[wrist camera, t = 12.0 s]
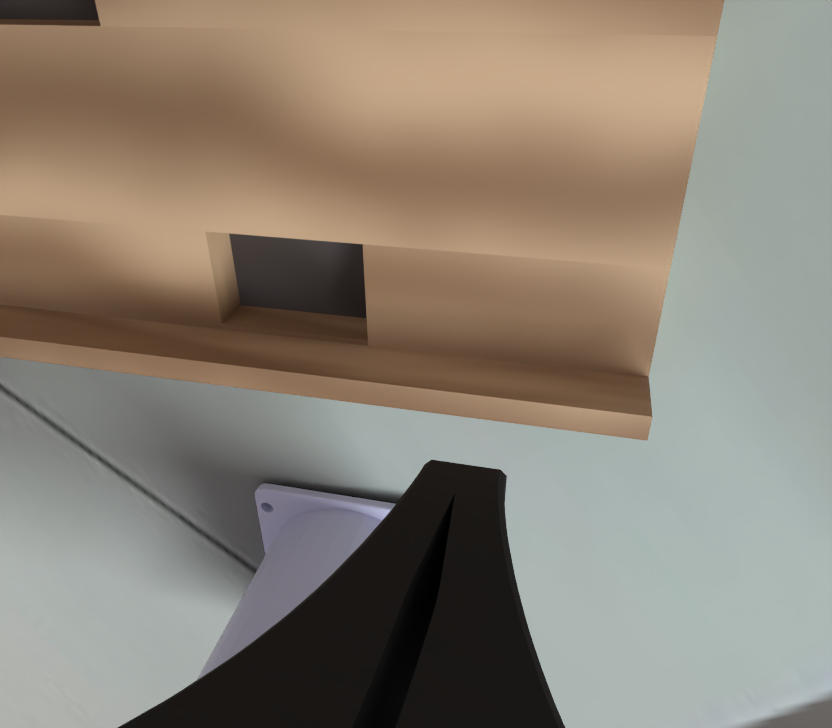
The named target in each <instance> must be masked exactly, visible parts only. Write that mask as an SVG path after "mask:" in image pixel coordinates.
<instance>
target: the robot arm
mask: <svg viewBox="0 0 832 728" xmlns="http://www.w3.org/2000/svg"><path fill="white" fill-rule="evenodd" d="M506 477H507V476H506V475H505V474H504V473H503V472H502V471H501V470H498V469H491V468H484V467H478V466H471V465H464V464H457V463H450V462H443V461H436V460H431V461H429V462H428V463H426V464H425V465H424V467H423V468H422V470H421V471H420V473H419V474H418V476H417V477H416V478H415V480H414V481H413V483H412V484H411V485H410V487H409V488H408V489H407V491H406V492H405V493H404V494H403V496H402V497H401V498H400V500H399V501H398V502H397V503H396V504H394V503H388V502H382V501H375V500H369V499H363V498H356V497H350V496H344V495H337V494H331V493H325V492H318V491H312V490H306V489H299V488H293V487H287V486H280V485H274V484H268V483H263V484H261V485H260V486H259V487H258V488H257V490H256V491H255V500H256V506H257V512H258V517H259V523H260V528H261V534H262V540H263V545H264V551H265V557H264V559H263V561H262V562H261V564H260V566H259V568H258V570H257V572H256V573H255V575H254V577H253V579H252V581H251V582H250V584H249V586H248V588H247V590H246V592H245V593H244V595H243V597H242V599H241V601H240V602H239V604H238V606H237V608H236V610H235V612H234V613H233V615H232V617H231V619H230V621H229V622H228V624H227V626H226V628H225V630H224V632H223V633H222V635H221V637H220V639H219V641H218V642H217V644H216V646H215V648H214V650H213V652H212V653H211V655H210V657H209V659H208V661H207V662H206V664H205V666H204V668H203V670H202V672H201V673H200V675H199V677H198V679H197V681H195V682H194V683H192V684H191V685H189V686H188V687H186V688H185V689H183V690H182V691H180V692H179V693H177V694H175V695H174V696H172V697H170V698H169V699H167V700H165V701H164V702H162V703H160V704H159V705H157V706H155V707H153V708H151V709H150V710H148V711H146V712H144V713H143V714H141V715H139V716H137V717H136V718H134V719H132V720H130V721H129V722H127V723H125V724H123V725H122V726H120V727H118V728H565V726H564V724H563V722H562V719H561V717H560V715H559V712H558V710H557V708H556V705H555V703H554V700H553V698H552V695H551V692H550V690H549V687H548V684H547V682H546V679H545V676H544V674H543V671H542V668H541V665H540V662H539V659H538V656H537V653H536V650H535V647H534V645H533V641H532V638H531V635H530V632H529V628H528V625H527V622H526V618H525V615H524V611H523V607H522V603H521V599H520V596H519V592H518V588H517V583H516V579H515V575H514V570H513V564H512V559H511V554H510V548H509V543H508V536H507V529H506V519H505V505H504V503H505V490H506ZM267 503H268V504H267ZM269 504H270V505H269Z"/></svg>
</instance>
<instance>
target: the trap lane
mask: <svg viewBox="0 0 832 728" xmlns="http://www.w3.org/2000/svg"><path fill="white" fill-rule="evenodd" d="M723 4H724V0H0V357H7V358H14V359H22V360H30V361H37V362H45V363H53V364H61V365H68V366H76V367H84V368H91V369H99V370H107V371H115V372H122V373H130V374H138V375H146V376H153V377H161V378H169V379H176V380H184V381H192V382H200V383H207V384H215V385H223V386H231V387H238V388H246V389H254V390H261V391H269V392H277V393H285V394H292V395H300V396H308V397H316V398H323V399H331V400H339V401H346V402H354V403H362V404H370V405H377V406H385V407H393V408H400V409H408V410H416V411H424V412H431V413H439V414H447V415H455V416H462V417H470V418H478V419H485V420H493V421H501V422H509V423H516V424H524V425H532V426H540V427H547V428H555V429H563V430H570V431H578V432H586V433H594V434H601V435H609V436H617V437H625V438H632V439H640V440H647V439H648V434H649V430H650V425H651V420H652V409H651V399H650V388H649V378H648V376H649V371H650V367H651V362H652V357H653V352H654V347H655V342H656V337H657V332H658V327H659V322H660V317H661V312H662V307H663V302H664V297H665V292H666V287H667V282H668V277H669V272H670V267H671V262H672V257H673V252H674V247H675V242H676V237H677V232H678V228H679V223H680V218H681V213H682V208H683V203H684V198H685V193H686V188H687V183H688V178H689V173H690V168H691V163H692V158H693V153H694V148H695V143H696V138H697V133H698V128H699V123H700V118H701V113H702V108H703V103H704V98H705V94H706V89H707V84H708V79H709V74H710V69H711V64H712V59H713V54H714V49H715V44H716V39H717V34H718V29H719V24H720V19H721V14H722V9H723Z"/></svg>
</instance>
